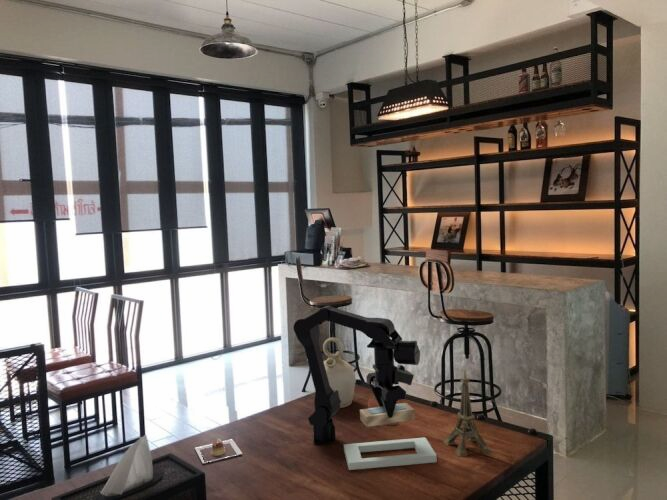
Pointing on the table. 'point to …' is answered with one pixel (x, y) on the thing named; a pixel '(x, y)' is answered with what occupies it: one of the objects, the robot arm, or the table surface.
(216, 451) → the dessert
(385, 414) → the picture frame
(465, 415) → the eiffel tower
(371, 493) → the table surface
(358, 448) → the pale grey open frame
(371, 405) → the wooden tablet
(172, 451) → the table surface
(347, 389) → the jug
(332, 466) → the table surface
